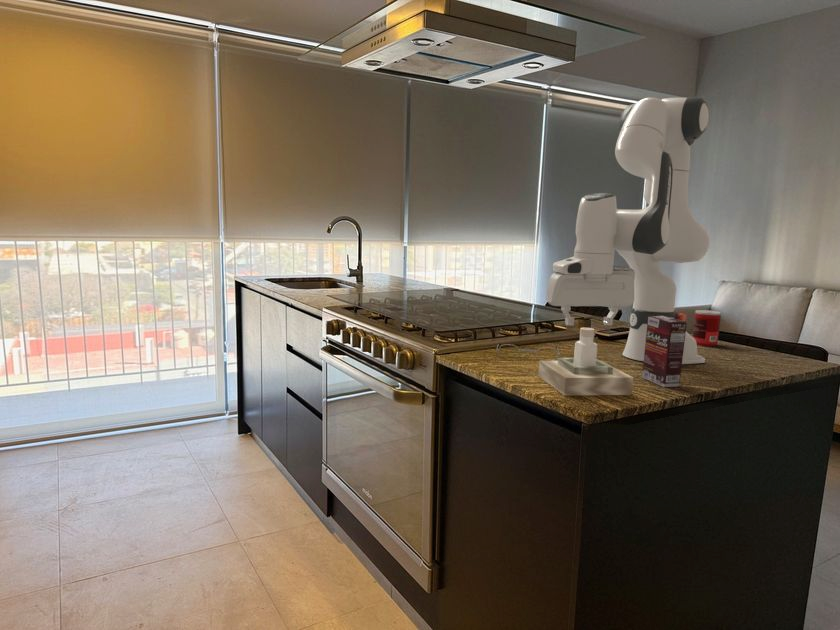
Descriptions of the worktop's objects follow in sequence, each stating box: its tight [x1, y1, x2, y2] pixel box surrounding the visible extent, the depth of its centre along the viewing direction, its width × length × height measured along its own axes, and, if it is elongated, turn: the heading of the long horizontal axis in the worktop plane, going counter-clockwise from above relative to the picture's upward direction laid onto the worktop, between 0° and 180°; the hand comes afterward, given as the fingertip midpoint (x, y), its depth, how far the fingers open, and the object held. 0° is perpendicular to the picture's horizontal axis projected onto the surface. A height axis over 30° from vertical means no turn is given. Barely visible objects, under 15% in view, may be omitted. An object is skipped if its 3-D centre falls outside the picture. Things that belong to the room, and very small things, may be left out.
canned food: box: [692, 309, 722, 347], centre depth 193 cm, size 8×8×11 cm
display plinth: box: [538, 357, 634, 397], centre depth 136 cm, size 16×16×6 cm
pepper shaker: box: [573, 327, 598, 366], centre depth 135 cm, size 4×4×10 cm
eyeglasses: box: [495, 343, 561, 361], centre depth 171 cm, size 18×19×4 cm
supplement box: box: [641, 316, 687, 388], centre depth 141 cm, size 9×5×16 cm, turn 16°
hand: (588, 325), depth 135 cm, fingers open, 8 cm apart
